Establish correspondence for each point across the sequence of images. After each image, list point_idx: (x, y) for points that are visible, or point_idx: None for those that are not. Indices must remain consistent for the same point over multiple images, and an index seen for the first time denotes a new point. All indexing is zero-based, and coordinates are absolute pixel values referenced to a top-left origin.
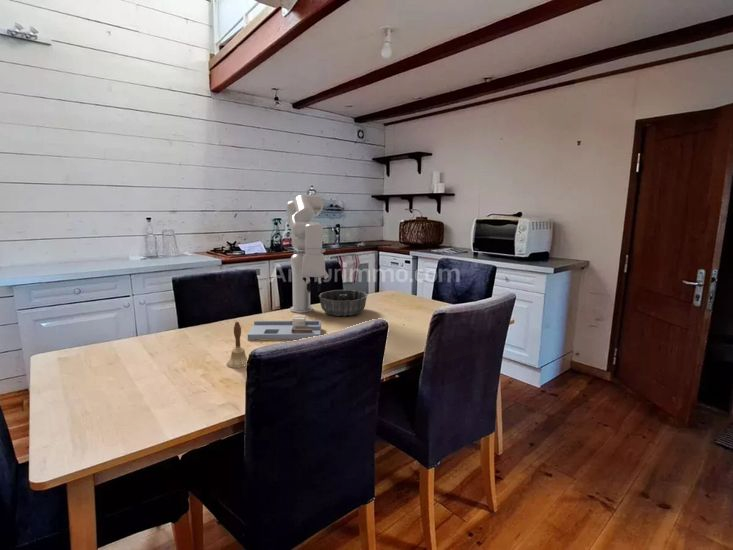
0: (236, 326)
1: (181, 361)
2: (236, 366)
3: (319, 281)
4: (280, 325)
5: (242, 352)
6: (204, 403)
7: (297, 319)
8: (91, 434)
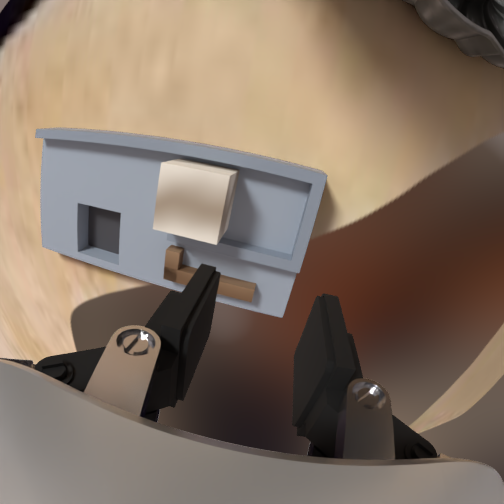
0: None
1: (4, 321)
2: None
3: (323, 457)
4: (124, 159)
5: None
6: None
7: (179, 234)
8: None
